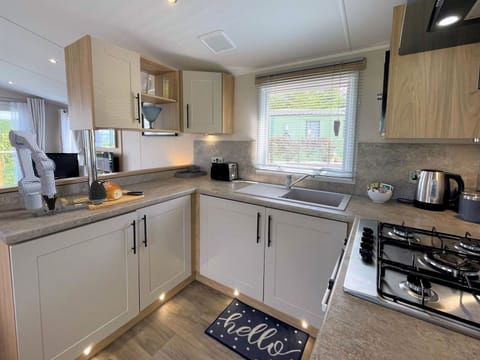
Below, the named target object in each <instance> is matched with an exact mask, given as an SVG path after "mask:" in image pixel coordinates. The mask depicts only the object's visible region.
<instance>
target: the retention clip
mask: <svg viewBox="0 0 480 360" xmlns="http://www.w3.org/2000/svg"><path fill="white" fill-rule="evenodd" d="M60 202H61V203H63V204H64V205H68V203H69V202H68V200H67V199H65V198H64V197H63V198H61V197H60V198H59V203H60ZM61 203H60V204H61Z"/></svg>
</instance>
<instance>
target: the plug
mask: <svg viewBox="0 0 480 360" xmlns="http://www.w3.org/2000/svg"><path fill="white" fill-rule="evenodd" d="M56 207H57V202H55V209H54V210H49V209H48V206H47V203H46V202H45V209H46V212H50V211H57V209H56Z"/></svg>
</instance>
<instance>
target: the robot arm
mask: <svg viewBox="0 0 480 360" xmlns="http://www.w3.org/2000/svg"><path fill="white" fill-rule="evenodd" d="M8 140H9V143H10V146H11V147H12V148H15V151H16V154H17V158H18V163H19V167H20V170H21V174H22V178H21V179H19V180H18V181H17V191H18V192H19V194H20V195H21V196H23V201H24V206H25V207H24V209H25V210H28V211H29V210H39V209H41V208H43V207H44V205H43V202H42V201H43V200H44V202H45V204H46V203H47V206H48V209H49V210H54V209H55V203H57V199H58V196H56V194H57V190H56V182H55V173H54V172H55V170H56V163H55V162H54V160H53V159H51V158H49V157H48V156H47V154H46V153H45V151H44V150H42V149H40V148H39V146H38V144H37V134H36V132H35V131H34V130H14V129H10V130H9V132H8ZM29 151H30V152H29ZM31 158H32V159H31ZM32 160H33V161H34V163H35V169H36V172H37V175H38V176H39V177H37V176H36V174H35V172H34V167H33V164H32ZM42 199H43V200H42Z"/></svg>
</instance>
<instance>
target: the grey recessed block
mask: <svg viewBox="0 0 480 360" xmlns="http://www.w3.org/2000/svg"><path fill="white" fill-rule="evenodd" d="M59 203H60V206H56V209H57V211H50V212H46V208H44V209H43V208H42V209H35V214H36V217H37V218H41V217H42V218H43V217H47V216H48V217H49V216H53V215H60V214H65V213H66V214H67V213H71V212H77V211H83V210H89V207H90V206H89V205H88V204H87V203H85V202H82V203H76V204H69V205H68V204H67V205H66V204H63V203H61V202H60V201H59Z"/></svg>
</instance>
